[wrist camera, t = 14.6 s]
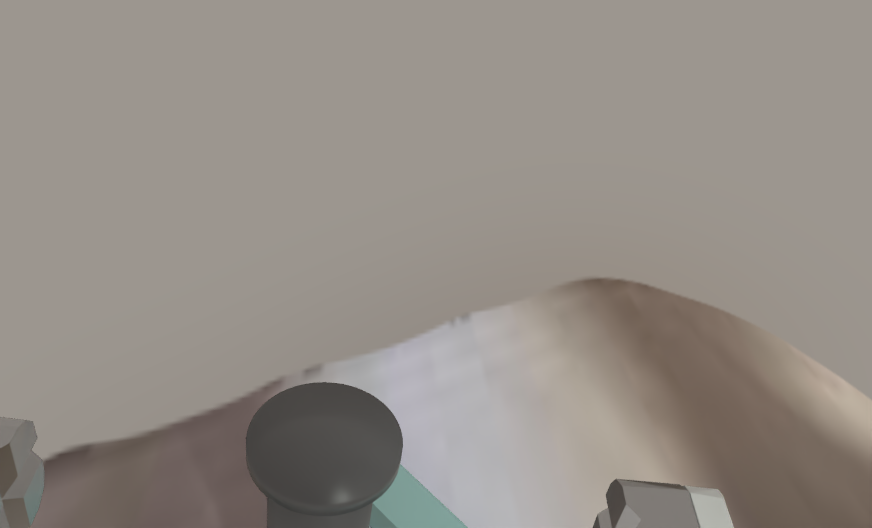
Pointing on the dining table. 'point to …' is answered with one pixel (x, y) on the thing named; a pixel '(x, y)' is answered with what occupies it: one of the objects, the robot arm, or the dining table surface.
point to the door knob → (323, 455)
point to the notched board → (410, 506)
